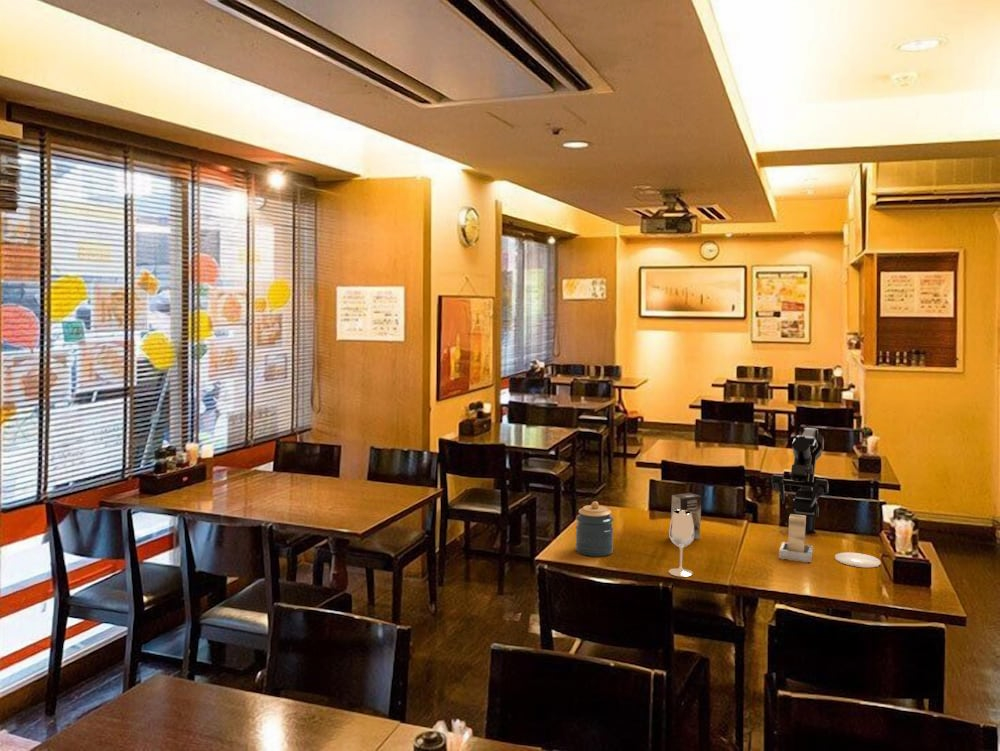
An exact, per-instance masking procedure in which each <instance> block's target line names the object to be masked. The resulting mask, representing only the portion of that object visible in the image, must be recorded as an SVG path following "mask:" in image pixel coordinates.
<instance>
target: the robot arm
mask: <svg viewBox="0 0 1000 751" xmlns="http://www.w3.org/2000/svg"><path fill="white" fill-rule="evenodd" d="M824 445H825V440H824V436H823V435H822V434H821V433H820V432H819V428H816V427H804V428H803V432H802V433H801V434H797V435H796V436H795V438H793V441H792V443H791V448H792V454H793V457H794V460H793V464H791V470H790V478H791V479H785V477H784V475H783V474H772V475H771V479H770V481H771V487H772V489H775V491H777V492H778V493H779V495H780V498H781V502H782V505H784V504H785V493H786V492H785V490H786V489H785V486H791V487H792V486H794V487H800V488H799V489H796V491H795V493H794V494H795V495H794V498H793V499H792V514H796V515H805V516H806V528H805V534H806V533H807V534H810V533H809V532H816V533H817V531H816V530H815V518H818V517H820V516H819V514H820V513H819V512H820V508H819V505H818V501H817V500H818V499H819V498H820V497H821V496H824V495H827V494H829V481H828V480H827V479H824V478H816V479H815V480H814V478H815V471H816V462H817V460H818V459H819V458H820V457H822V451H823V450H825V449H824V447H825V446H824Z"/></svg>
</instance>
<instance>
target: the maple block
mask: <svg viewBox="0 0 1000 751" xmlns="http://www.w3.org/2000/svg"><path fill="white" fill-rule="evenodd" d="M805 528H806V516H805V515H796V514H793V513H790V514H789V517H788V535H787V536H788V537H787V543H788V550H789V551H796V552H804V551H805V545H806V533H805Z"/></svg>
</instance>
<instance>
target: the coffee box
mask: <svg viewBox="0 0 1000 751" xmlns="http://www.w3.org/2000/svg"><path fill="white" fill-rule="evenodd" d="M675 510H688V511H690V512H691V514H692V519H693V525H694V539H696V540H700V539H701V518H702V517H701V515H702V496H701V495H700V494H696V493H692V492H688V493H678V494H671V511H670V513H671V514H670V520H671V519H672V515H673V512H674V511H675ZM694 539H693V541H695V540H694Z"/></svg>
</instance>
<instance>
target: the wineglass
mask: <svg viewBox="0 0 1000 751" xmlns="http://www.w3.org/2000/svg"><path fill="white" fill-rule="evenodd" d="M668 535H669V539H670V541H671V542H672V543H673V544H674V545H675V546H676V547H678V548H679V567H676V568H675V567H673V568H670V569H669V570H668V573H669V574H670V575H671V576H673V577H679V578H680V577H681V578H687V577H691V576H693V574H694V571H692V570H690V569H687V568H683V550H684V548H686V547H688V546H689V545H691V544H692V543H693V541H694V540H693V539H694V525H693V519H692V514H691V512H690V511H688V510H675V511H674V512H673V515H672V519H671V518H670V525H669V532H668Z"/></svg>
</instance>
